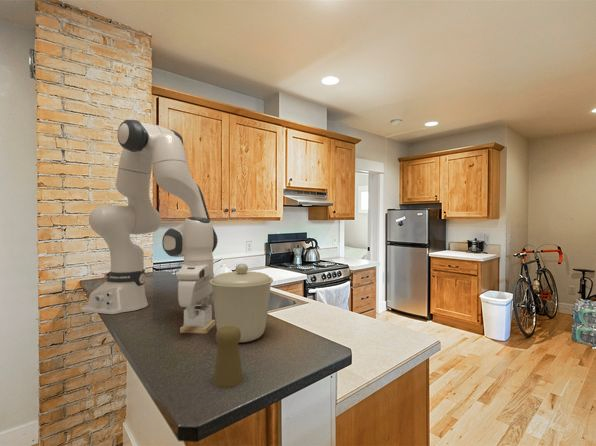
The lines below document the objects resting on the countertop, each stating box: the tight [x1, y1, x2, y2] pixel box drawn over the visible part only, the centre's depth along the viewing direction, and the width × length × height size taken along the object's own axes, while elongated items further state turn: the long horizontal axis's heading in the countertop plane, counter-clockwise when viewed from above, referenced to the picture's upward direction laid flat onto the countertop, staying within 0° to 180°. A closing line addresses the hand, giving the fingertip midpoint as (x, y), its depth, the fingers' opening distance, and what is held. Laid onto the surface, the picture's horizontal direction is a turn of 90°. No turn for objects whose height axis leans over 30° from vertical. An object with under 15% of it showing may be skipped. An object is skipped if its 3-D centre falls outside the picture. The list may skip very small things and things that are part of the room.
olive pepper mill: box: [212, 326, 244, 389], centre depth 65 cm, size 6×6×11 cm
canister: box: [209, 263, 274, 344], centre depth 90 cm, size 18×18×21 cm
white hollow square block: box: [183, 304, 213, 327], centre depth 96 cm, size 6×6×5 cm
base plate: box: [179, 319, 216, 334], centre depth 96 cm, size 8×8×6 cm
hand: (198, 313), depth 96 cm, fingers open, 8 cm apart
